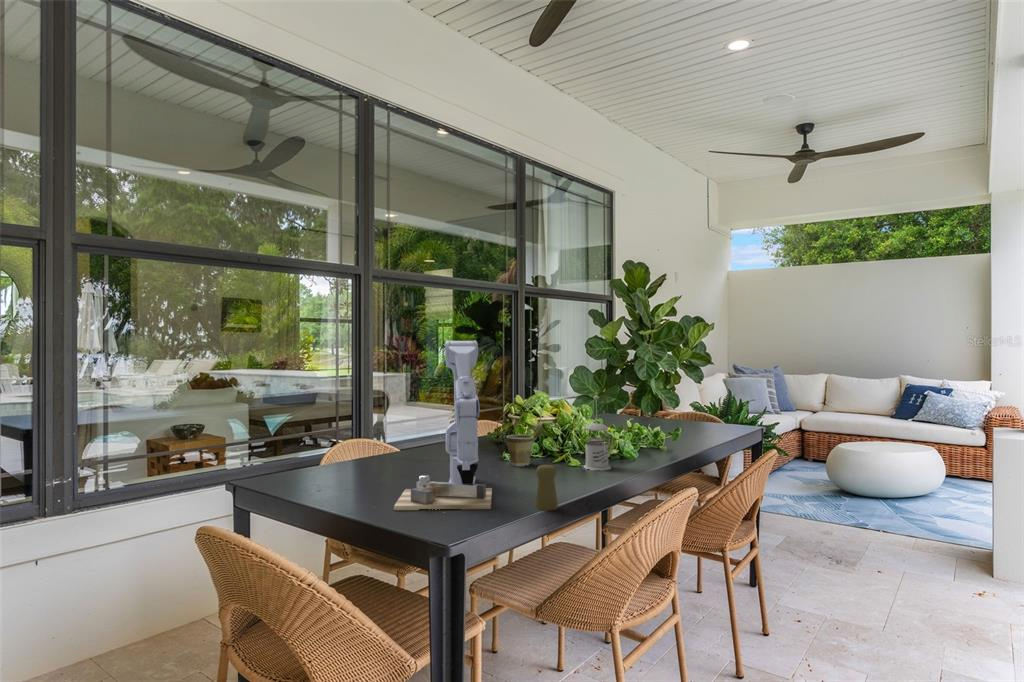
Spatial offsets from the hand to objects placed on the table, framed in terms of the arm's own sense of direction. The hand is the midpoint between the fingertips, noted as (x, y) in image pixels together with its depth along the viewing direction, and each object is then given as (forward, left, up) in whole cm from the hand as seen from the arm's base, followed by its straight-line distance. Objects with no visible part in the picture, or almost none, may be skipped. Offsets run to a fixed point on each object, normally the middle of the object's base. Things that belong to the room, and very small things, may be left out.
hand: (467, 491), depth 167 cm
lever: (+1, -4, -1) cm, 5 cm away
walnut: (+4, -10, -1) cm, 11 cm away
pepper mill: (+9, +21, -3) cm, 23 cm away
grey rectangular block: (+6, -12, -1) cm, 13 cm away
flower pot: (-50, +16, -3) cm, 53 cm away
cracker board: (+1, -6, -2) cm, 7 cm away
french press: (-42, +43, -3) cm, 60 cm away
